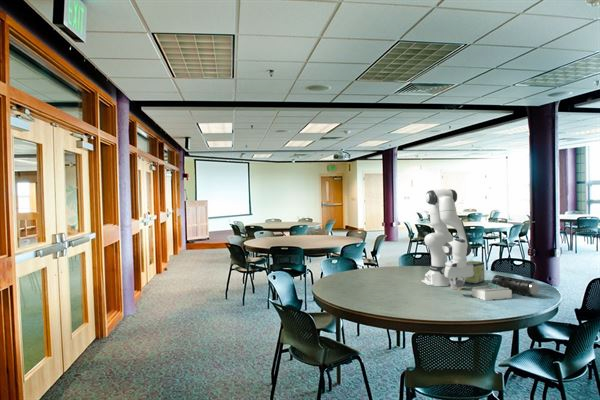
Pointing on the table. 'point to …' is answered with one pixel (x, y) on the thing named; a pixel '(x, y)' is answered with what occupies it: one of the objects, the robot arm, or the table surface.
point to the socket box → (491, 293)
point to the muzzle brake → (517, 285)
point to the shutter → (494, 286)
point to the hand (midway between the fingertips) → (458, 283)
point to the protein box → (476, 273)
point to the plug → (459, 284)
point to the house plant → (453, 284)
